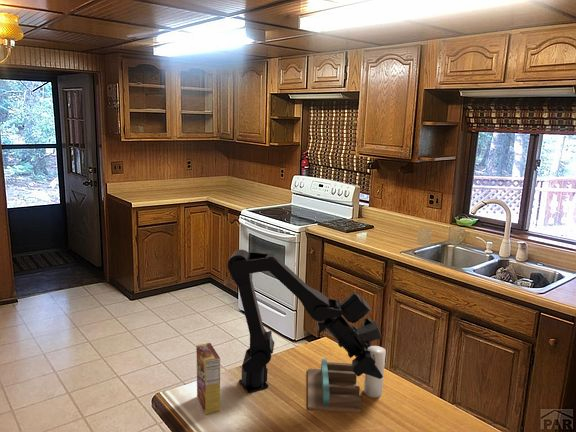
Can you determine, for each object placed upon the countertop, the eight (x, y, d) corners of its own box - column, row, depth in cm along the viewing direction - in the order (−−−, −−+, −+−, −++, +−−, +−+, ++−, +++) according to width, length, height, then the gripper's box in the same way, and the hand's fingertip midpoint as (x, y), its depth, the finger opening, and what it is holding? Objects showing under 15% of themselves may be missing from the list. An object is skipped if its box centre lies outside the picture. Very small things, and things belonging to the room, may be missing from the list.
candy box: (195, 396, 126) (195, 344, 123) (210, 393, 128) (211, 341, 125) (203, 415, 118) (204, 360, 115) (220, 411, 120) (221, 357, 117)
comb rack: (361, 412, 123) (362, 396, 122) (307, 409, 123) (308, 393, 122) (353, 373, 142) (354, 359, 141) (307, 370, 143) (308, 356, 142)
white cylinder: (371, 399, 129) (375, 355, 127) (360, 390, 133) (363, 348, 131) (385, 394, 132) (389, 352, 129) (373, 386, 136) (377, 344, 133)
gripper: (369, 328, 119) (409, 371, 121) (361, 301, 137) (395, 339, 139) (336, 355, 121) (376, 396, 122) (332, 325, 139) (367, 361, 141)
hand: (379, 371), depth 131 cm, fingers open, 6 cm apart
